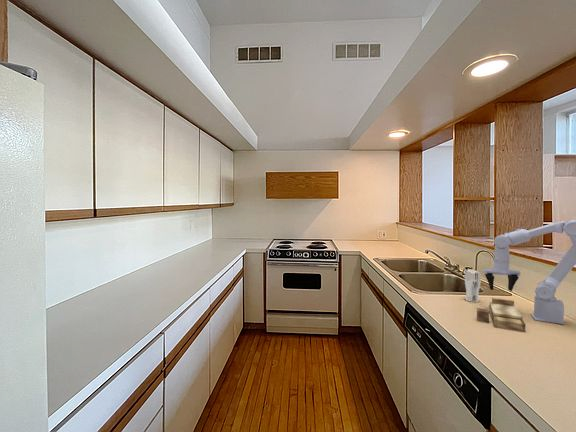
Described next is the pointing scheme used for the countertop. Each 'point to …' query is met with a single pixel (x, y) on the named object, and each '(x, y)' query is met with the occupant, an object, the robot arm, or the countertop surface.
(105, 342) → the countertop surface
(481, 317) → the block
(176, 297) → the countertop surface
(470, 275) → the beer glass
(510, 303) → the lid
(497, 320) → the brown divided tray
